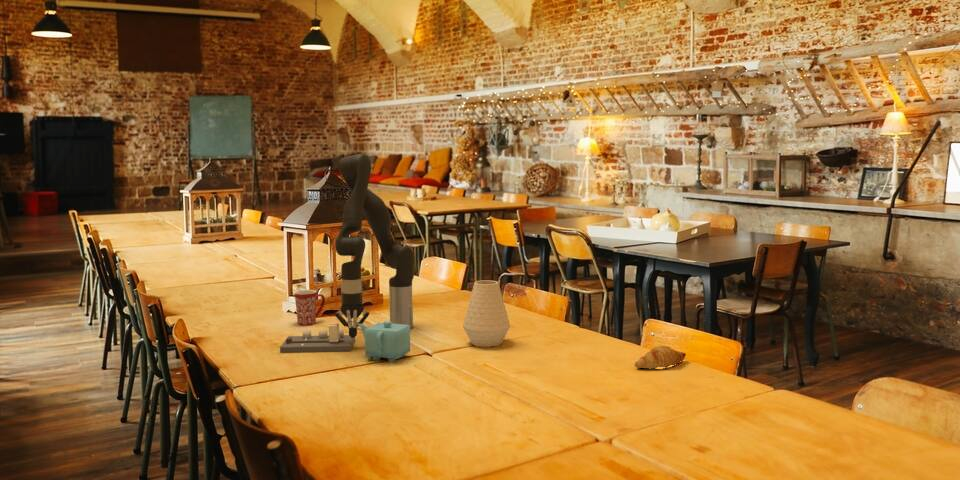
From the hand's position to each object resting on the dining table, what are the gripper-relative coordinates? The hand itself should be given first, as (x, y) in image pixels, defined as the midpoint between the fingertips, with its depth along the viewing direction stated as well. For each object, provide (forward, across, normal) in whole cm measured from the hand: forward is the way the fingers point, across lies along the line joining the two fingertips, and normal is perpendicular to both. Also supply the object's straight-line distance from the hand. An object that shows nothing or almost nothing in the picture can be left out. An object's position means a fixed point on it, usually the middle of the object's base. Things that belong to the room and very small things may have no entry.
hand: (353, 337), depth 294 cm
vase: (+4, -49, -1) cm, 49 cm away
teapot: (+4, -11, +15) cm, 19 cm away
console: (+4, +13, -2) cm, 13 cm away
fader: (+1, +7, 0) cm, 7 cm away
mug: (+4, +22, -39) cm, 45 cm away
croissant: (+4, -105, +32) cm, 110 cm away
